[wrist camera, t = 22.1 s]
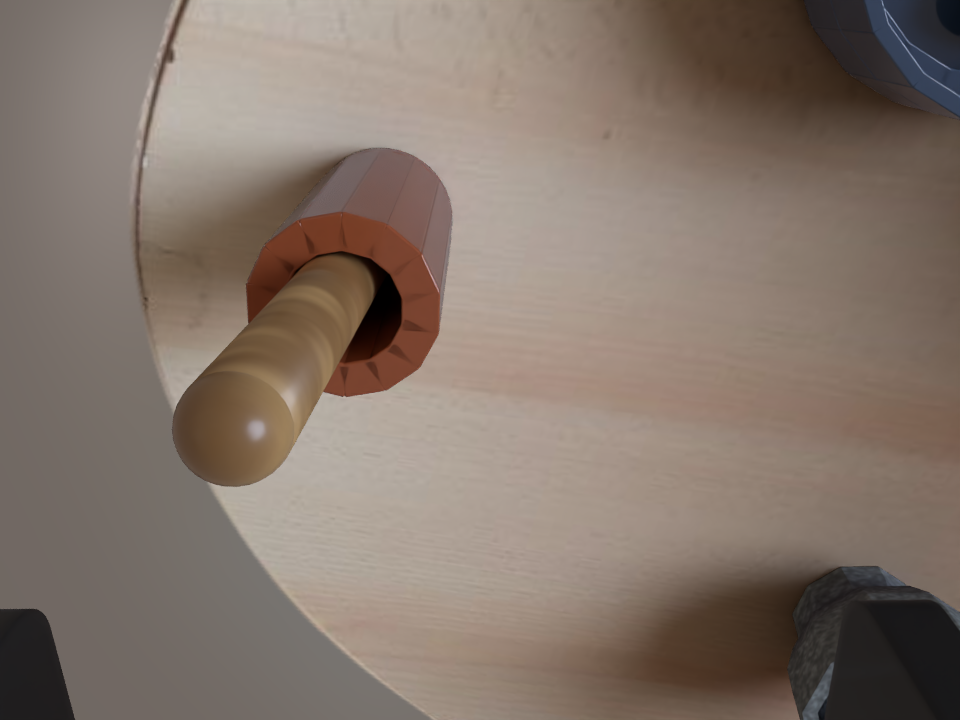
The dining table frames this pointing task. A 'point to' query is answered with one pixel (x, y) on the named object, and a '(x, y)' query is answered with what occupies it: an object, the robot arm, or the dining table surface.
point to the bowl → (897, 48)
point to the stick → (274, 372)
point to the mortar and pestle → (836, 628)
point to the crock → (384, 239)
